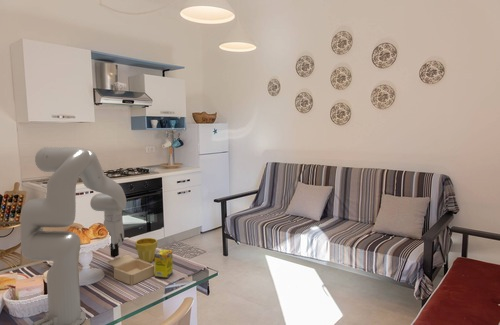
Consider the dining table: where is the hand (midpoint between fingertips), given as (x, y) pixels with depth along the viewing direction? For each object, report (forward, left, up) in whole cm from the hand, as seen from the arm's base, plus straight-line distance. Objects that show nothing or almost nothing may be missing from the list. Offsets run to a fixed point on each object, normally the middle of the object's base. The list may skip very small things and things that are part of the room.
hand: (114, 256), depth 161 cm
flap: (0, -5, -1) cm, 5 cm away
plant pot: (+15, -4, -6) cm, 17 cm away
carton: (0, -14, -6) cm, 15 cm away
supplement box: (+8, -24, -6) cm, 26 cm away
